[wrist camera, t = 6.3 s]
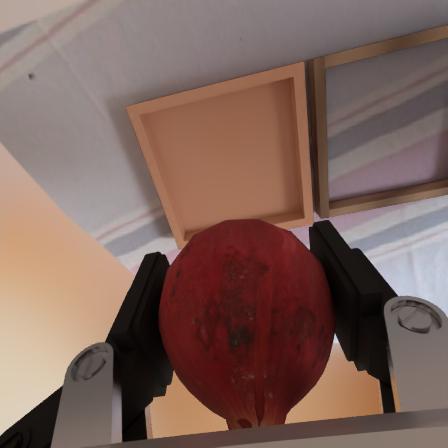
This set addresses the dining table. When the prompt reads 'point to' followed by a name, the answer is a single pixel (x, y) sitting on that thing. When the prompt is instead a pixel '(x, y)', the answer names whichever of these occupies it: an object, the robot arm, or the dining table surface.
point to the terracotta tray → (230, 152)
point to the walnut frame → (320, 129)
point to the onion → (247, 321)
